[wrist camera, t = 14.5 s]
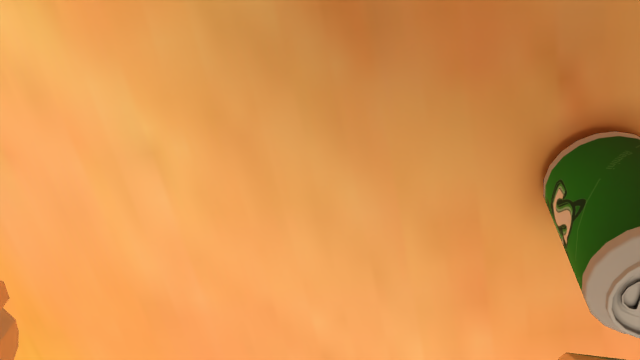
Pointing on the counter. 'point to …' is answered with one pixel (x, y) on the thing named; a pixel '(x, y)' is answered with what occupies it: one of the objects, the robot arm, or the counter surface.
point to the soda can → (601, 223)
